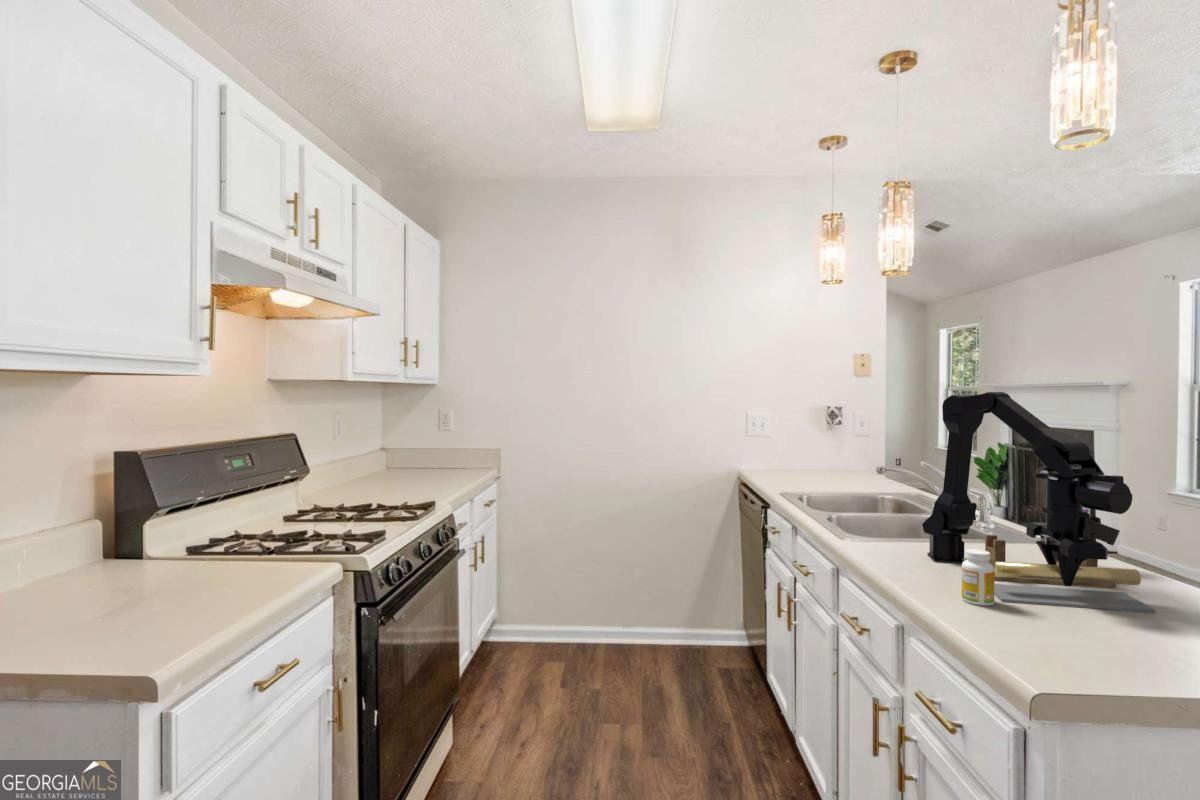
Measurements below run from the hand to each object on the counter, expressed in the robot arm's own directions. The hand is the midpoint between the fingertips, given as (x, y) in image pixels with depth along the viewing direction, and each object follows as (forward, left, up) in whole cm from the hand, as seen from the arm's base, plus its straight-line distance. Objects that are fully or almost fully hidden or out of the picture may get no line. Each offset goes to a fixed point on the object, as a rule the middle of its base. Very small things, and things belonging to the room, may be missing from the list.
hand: (1063, 583), depth 120 cm
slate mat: (0, 0, -3) cm, 3 cm away
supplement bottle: (-17, -6, -3) cm, 18 cm away
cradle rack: (+1, +13, -3) cm, 13 cm away
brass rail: (0, 0, 0) cm, 1 cm away
